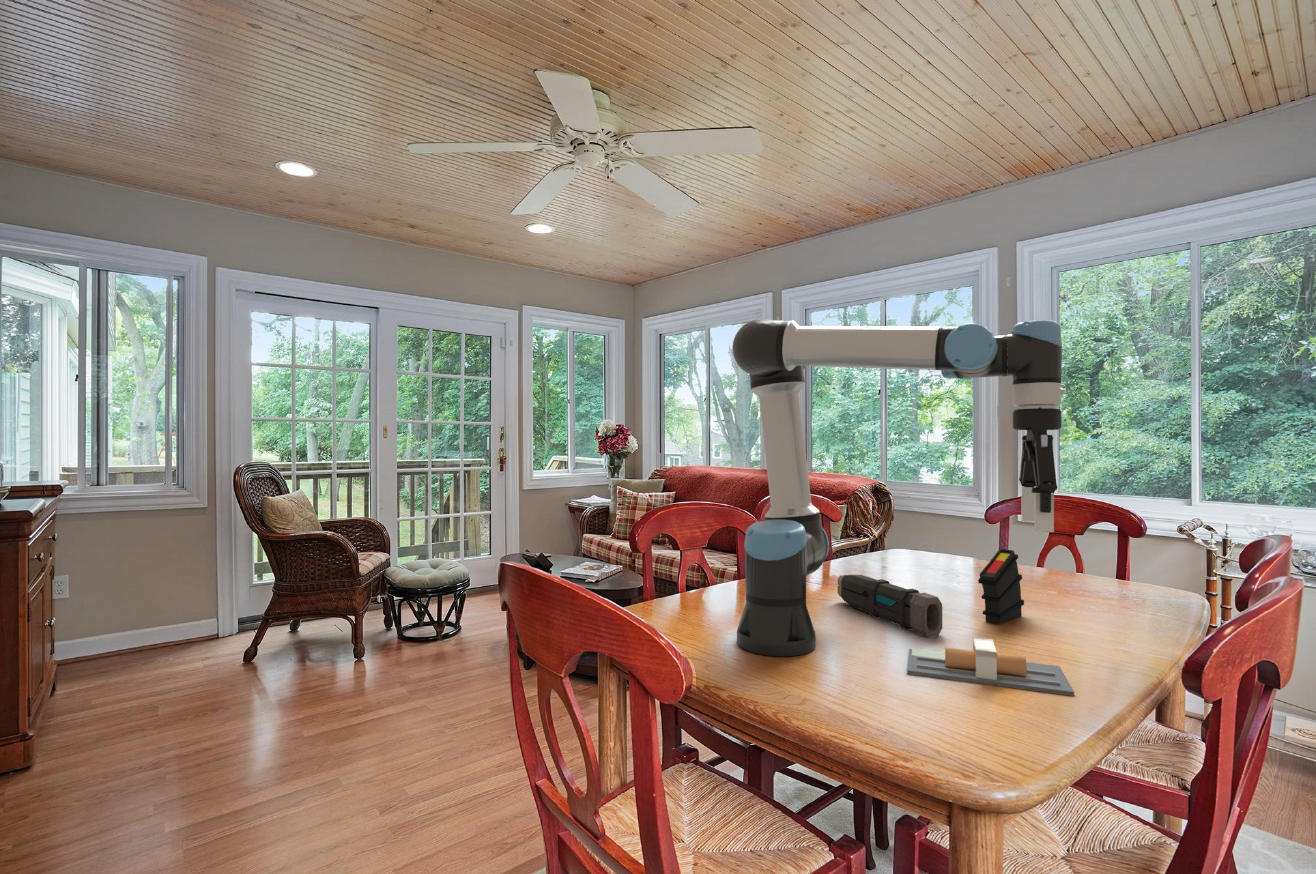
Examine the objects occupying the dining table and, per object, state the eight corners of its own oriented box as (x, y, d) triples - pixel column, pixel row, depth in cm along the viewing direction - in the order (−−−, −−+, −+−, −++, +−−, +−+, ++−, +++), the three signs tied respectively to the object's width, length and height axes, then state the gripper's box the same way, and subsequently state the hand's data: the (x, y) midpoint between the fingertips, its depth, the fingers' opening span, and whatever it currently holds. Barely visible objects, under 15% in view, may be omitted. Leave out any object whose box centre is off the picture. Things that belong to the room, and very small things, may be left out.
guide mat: (907, 673, 107) (907, 667, 107) (909, 651, 118) (909, 646, 118) (1074, 695, 97) (1074, 689, 97) (1059, 669, 108) (1059, 663, 108)
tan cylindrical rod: (945, 669, 107) (945, 650, 107) (945, 663, 110) (945, 645, 110) (1026, 679, 102) (1026, 660, 102) (1024, 673, 105) (1024, 653, 105)
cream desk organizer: (976, 677, 103) (975, 649, 103) (973, 663, 110) (973, 637, 110) (996, 680, 102) (996, 652, 102) (992, 665, 109) (992, 639, 109)
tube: (859, 612, 155) (954, 631, 127) (837, 621, 153) (929, 643, 125) (846, 569, 156) (938, 579, 128) (824, 578, 153) (913, 590, 125)
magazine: (1030, 606, 142) (1016, 549, 139) (1005, 642, 135) (990, 583, 131) (1012, 603, 145) (999, 547, 142) (988, 637, 138) (972, 580, 134)
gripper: (1078, 404, 100) (1078, 537, 100) (1046, 410, 123) (1046, 518, 123) (1024, 405, 103) (1024, 535, 103) (1003, 411, 126) (1003, 517, 126)
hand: (1036, 526), depth 113 cm, fingers open, 13 cm apart
